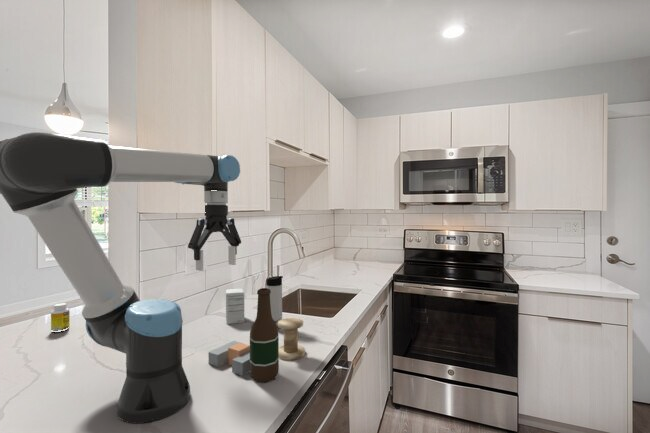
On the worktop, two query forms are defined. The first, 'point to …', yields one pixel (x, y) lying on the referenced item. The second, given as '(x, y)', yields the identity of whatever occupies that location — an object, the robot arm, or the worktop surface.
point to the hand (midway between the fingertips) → (216, 267)
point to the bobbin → (291, 339)
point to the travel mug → (275, 297)
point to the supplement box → (235, 306)
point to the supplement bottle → (60, 317)
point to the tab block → (237, 351)
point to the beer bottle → (264, 341)
